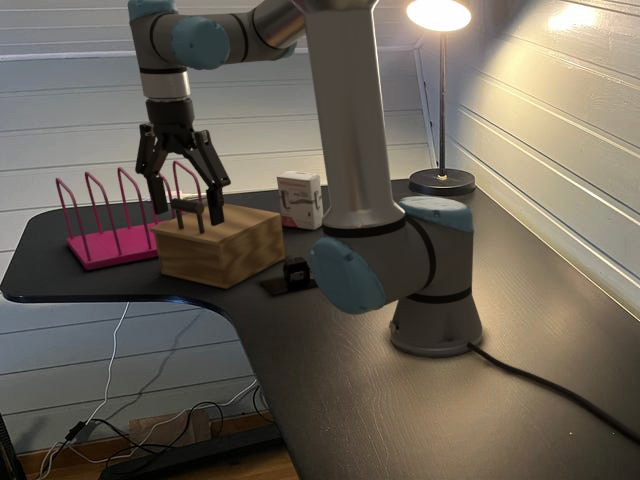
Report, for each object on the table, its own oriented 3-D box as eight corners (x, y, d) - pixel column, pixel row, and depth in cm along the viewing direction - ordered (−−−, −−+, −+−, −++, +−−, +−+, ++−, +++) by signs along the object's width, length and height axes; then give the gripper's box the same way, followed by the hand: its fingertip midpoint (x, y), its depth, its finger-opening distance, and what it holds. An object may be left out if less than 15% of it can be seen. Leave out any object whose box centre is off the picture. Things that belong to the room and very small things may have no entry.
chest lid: (216, 245, 132) (211, 210, 129) (150, 232, 137) (143, 197, 134) (280, 217, 147) (277, 184, 144) (218, 205, 152) (213, 174, 149)
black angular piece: (321, 271, 146) (319, 249, 143) (335, 283, 140) (334, 261, 138) (260, 283, 140) (257, 260, 137) (272, 296, 134) (270, 273, 132)
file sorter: (214, 246, 156) (202, 173, 148) (87, 272, 142) (66, 193, 134) (187, 224, 168) (174, 155, 160) (67, 245, 154) (48, 171, 146)
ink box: (281, 226, 168) (275, 175, 162) (292, 219, 172) (286, 169, 166) (315, 231, 166) (310, 179, 160) (325, 224, 170) (321, 173, 164)
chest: (226, 288, 137) (219, 245, 132) (161, 273, 142) (153, 231, 138) (285, 258, 151) (280, 217, 147) (224, 245, 157) (218, 205, 152)
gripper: (240, 101, 123) (256, 222, 134) (131, 88, 132) (154, 202, 142) (209, 108, 117) (228, 234, 128) (97, 94, 126) (123, 213, 136)
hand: (189, 218), depth 135 cm, fingers open, 13 cm apart
